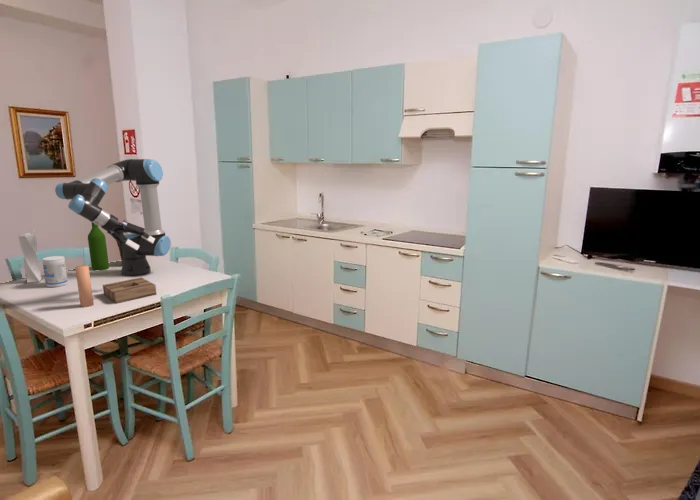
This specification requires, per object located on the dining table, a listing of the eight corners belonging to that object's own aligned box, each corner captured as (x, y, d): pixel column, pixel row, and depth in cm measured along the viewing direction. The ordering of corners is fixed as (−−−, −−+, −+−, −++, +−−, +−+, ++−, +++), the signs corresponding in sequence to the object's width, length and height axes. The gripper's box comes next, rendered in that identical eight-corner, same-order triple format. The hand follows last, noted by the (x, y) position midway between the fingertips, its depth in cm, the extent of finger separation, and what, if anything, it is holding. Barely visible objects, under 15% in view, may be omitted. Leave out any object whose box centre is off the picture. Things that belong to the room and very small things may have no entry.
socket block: (103, 294, 202) (102, 284, 201) (142, 286, 215) (141, 277, 214) (116, 303, 190) (115, 293, 189) (156, 294, 203) (155, 284, 202)
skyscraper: (45, 278, 229) (37, 228, 223) (43, 282, 222) (34, 230, 216) (26, 280, 225) (17, 229, 219) (23, 284, 218) (14, 232, 212)
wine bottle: (94, 267, 252) (87, 214, 245) (111, 266, 255) (104, 213, 248) (89, 271, 244) (82, 216, 237) (106, 270, 246) (99, 215, 239)
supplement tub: (41, 287, 213) (37, 260, 210) (53, 282, 222) (49, 255, 219) (61, 287, 213) (56, 259, 210) (72, 282, 222) (68, 255, 219)
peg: (79, 305, 188) (73, 267, 184) (91, 302, 191) (86, 265, 187) (82, 308, 184) (76, 269, 180) (95, 305, 188) (89, 267, 184)
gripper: (88, 234, 195) (129, 256, 209) (116, 219, 182) (157, 244, 196) (95, 221, 200) (135, 244, 213) (123, 206, 187) (163, 231, 200)
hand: (145, 244), depth 205 cm, fingers open, 13 cm apart
